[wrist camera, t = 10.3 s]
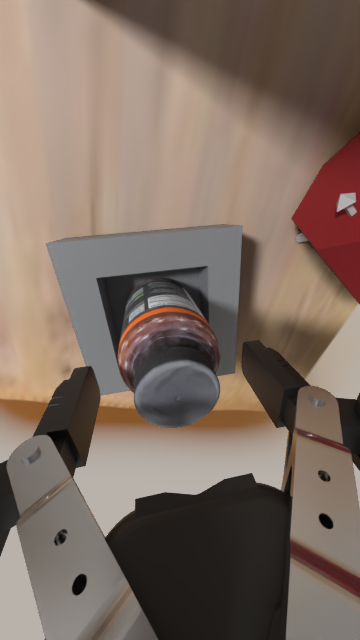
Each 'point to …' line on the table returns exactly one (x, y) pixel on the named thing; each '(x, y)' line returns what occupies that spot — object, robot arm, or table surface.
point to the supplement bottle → (168, 355)
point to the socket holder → (138, 266)
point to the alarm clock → (335, 215)
